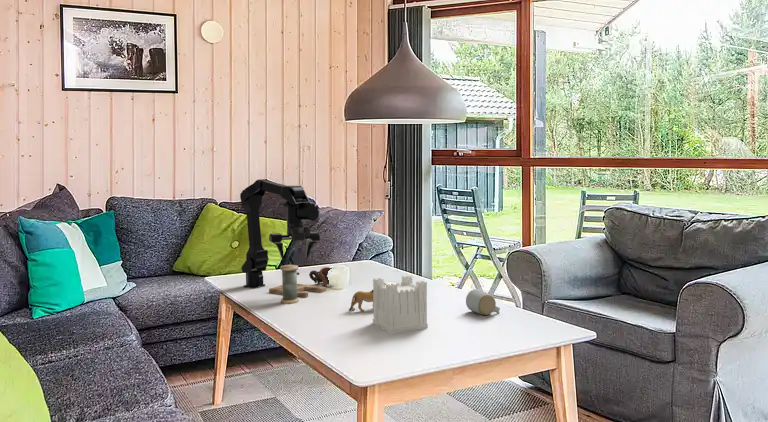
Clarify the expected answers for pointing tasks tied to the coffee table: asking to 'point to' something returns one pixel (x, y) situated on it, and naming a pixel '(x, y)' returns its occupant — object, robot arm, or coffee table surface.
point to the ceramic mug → (481, 302)
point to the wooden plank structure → (299, 289)
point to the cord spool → (289, 283)
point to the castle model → (400, 305)
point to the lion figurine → (361, 299)
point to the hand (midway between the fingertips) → (294, 259)
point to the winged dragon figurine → (320, 276)
